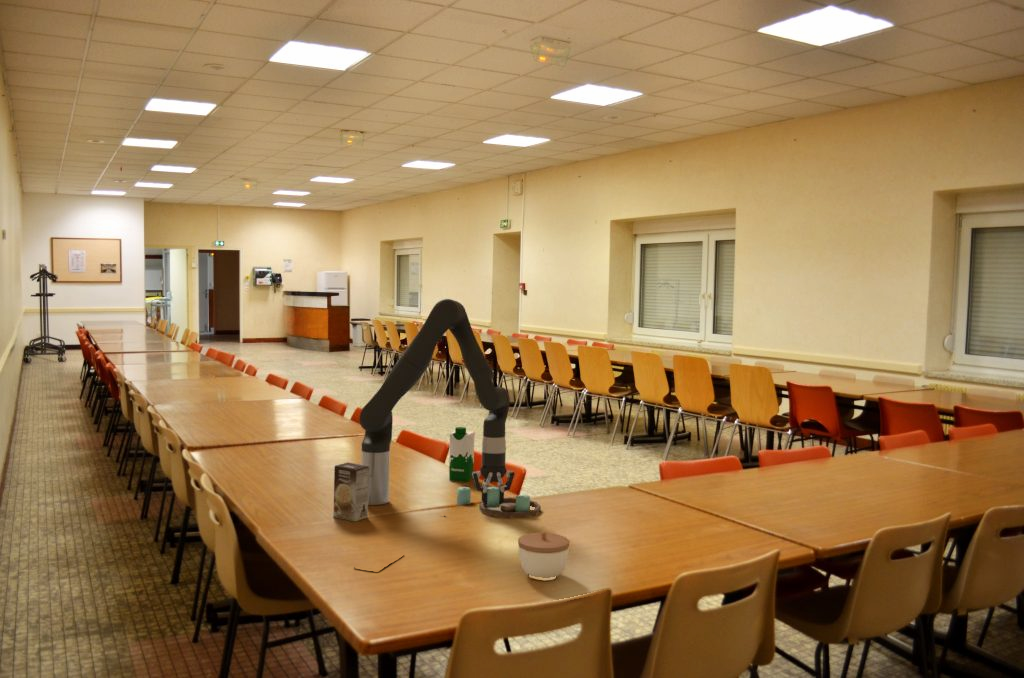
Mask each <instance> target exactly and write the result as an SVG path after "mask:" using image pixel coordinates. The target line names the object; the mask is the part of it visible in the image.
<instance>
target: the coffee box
mask: <svg viewBox="0 0 1024 678" xmlns="http://www.w3.org/2000/svg"><path fill="white" fill-rule="evenodd" d="M333 471H334V473H333V475H334V477H333V482H334V483H333V518H337V519H341V520H346V521H350V522H354V521H355V522H357V521H360V520H364V519H367V518H368V512H369V510H368V509H369V508H368V507H369V505H368V481H369V466H364V465H361V464H359V463H352V462H344V463H340V464H336V465H334V470H333Z"/></svg>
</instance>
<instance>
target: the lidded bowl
mask: <svg viewBox="0 0 1024 678" xmlns="http://www.w3.org/2000/svg"><path fill="white" fill-rule="evenodd" d="M517 544H518V545H517V546H518V559H519V563H520V567H521V568H522V570H523V571H524V572H525V573H526V574H527V575H528V574H529V575H531V576H535V577H542V578H550V577H555V576H557V577H558V576H560V574H562V573H563V571H564V570H565V568H566V565H567V563H568V560H569V549H570V540H569V539H568V538H567V537H566V536H564V535H561V534H556V533H551V532H547V531H541V532H529V533H525V534H523V535H521V536H519V537H518V539H517Z"/></svg>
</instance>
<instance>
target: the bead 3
mask: <svg viewBox="0 0 1024 678" xmlns="http://www.w3.org/2000/svg"><path fill="white" fill-rule="evenodd" d="M515 498H516V511H515V512H526V511H530V499H531V497H530V495H526V494H519V495H516V496H515Z"/></svg>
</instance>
